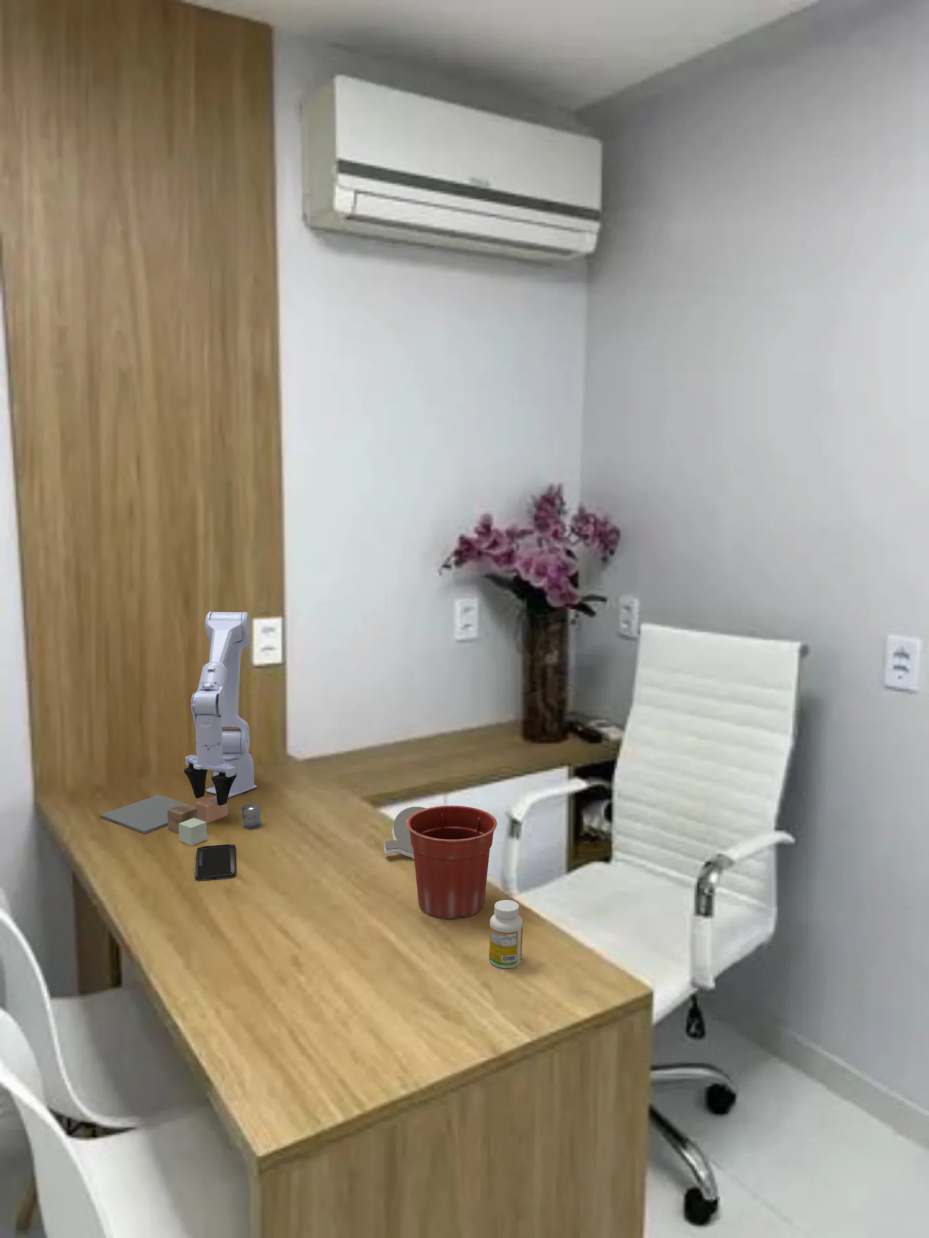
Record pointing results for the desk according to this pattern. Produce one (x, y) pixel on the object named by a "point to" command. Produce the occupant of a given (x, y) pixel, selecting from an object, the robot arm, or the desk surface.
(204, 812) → the terracotta brick
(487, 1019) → the desk surface
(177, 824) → the walnut cube
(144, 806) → the desk mat
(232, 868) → the phone
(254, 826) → the metal cylinder
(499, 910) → the supplement bottle
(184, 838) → the square sage brick
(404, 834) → the grey disc with foot
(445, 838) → the flower pot
